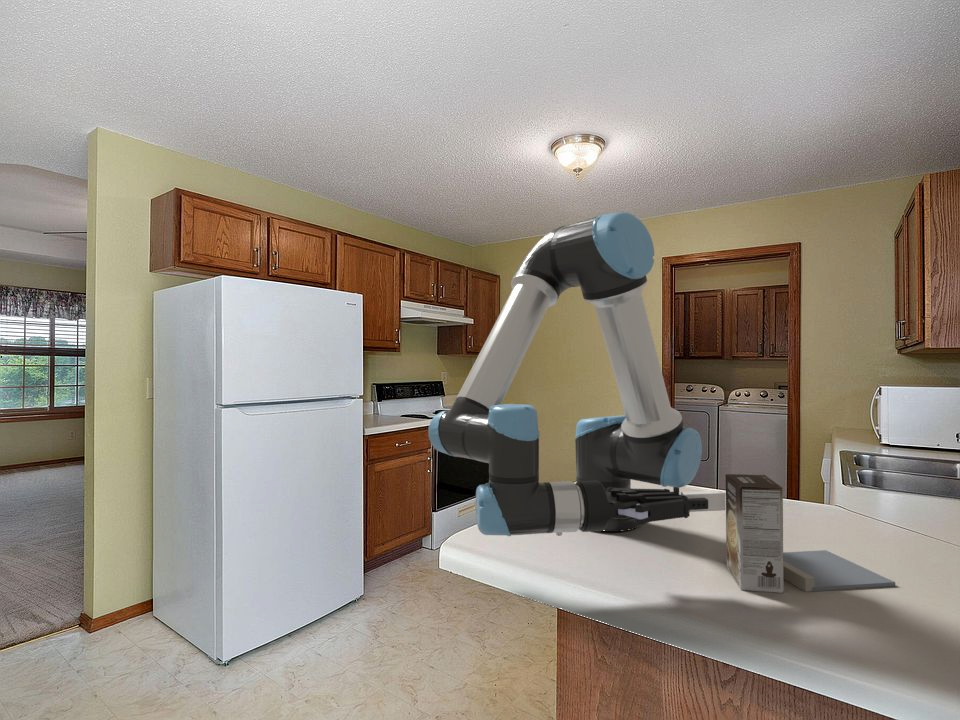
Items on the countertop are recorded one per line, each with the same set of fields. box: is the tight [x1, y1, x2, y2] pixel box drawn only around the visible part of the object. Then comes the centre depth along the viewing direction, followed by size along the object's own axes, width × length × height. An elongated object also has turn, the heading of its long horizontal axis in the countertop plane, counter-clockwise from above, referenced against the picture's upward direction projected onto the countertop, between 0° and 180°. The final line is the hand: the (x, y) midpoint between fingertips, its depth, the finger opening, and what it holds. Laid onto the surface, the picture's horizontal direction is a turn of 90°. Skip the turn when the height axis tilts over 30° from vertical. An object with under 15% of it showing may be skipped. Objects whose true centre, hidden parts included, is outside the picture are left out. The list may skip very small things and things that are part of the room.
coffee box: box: [725, 473, 785, 594], centre depth 84 cm, size 9×6×16 cm
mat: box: [783, 549, 896, 593], centre depth 87 cm, size 14×15×2 cm
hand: (722, 500), depth 83 cm, fingers closed
